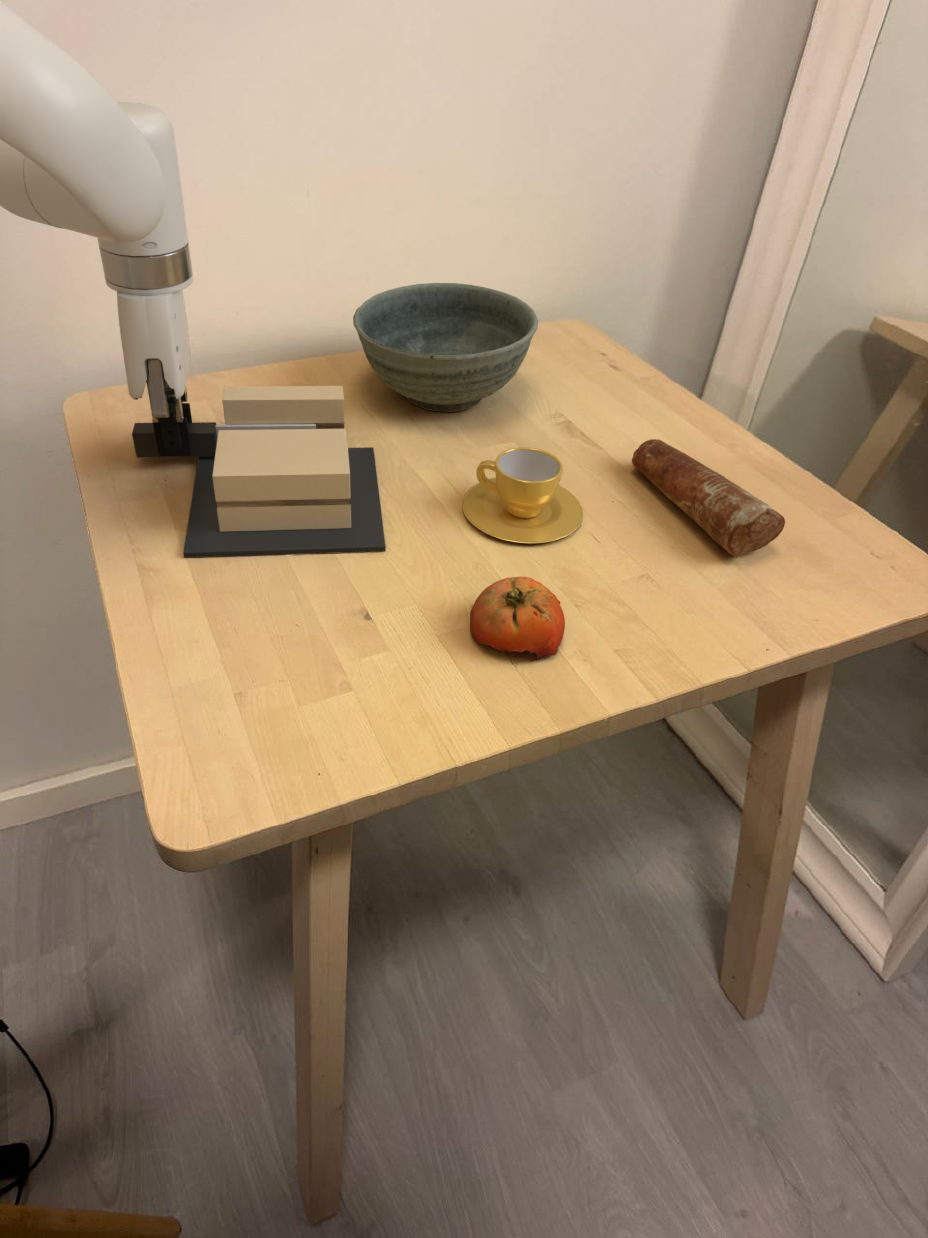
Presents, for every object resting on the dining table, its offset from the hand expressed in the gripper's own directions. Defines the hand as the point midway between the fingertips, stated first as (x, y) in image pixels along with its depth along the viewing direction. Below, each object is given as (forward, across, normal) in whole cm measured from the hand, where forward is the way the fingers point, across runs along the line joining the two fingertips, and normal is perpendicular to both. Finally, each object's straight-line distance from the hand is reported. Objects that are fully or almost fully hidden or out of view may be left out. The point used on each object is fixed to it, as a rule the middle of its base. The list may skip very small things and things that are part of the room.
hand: (176, 445), depth 92 cm
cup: (+2, +11, +34) cm, 36 cm away
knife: (+1, 0, +5) cm, 5 cm away
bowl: (+2, -14, +29) cm, 32 cm away
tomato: (+2, +29, +30) cm, 42 cm away
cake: (+2, +8, +11) cm, 14 cm away
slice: (+1, -2, +11) cm, 11 cm away
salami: (+2, +12, +51) cm, 53 cm away
